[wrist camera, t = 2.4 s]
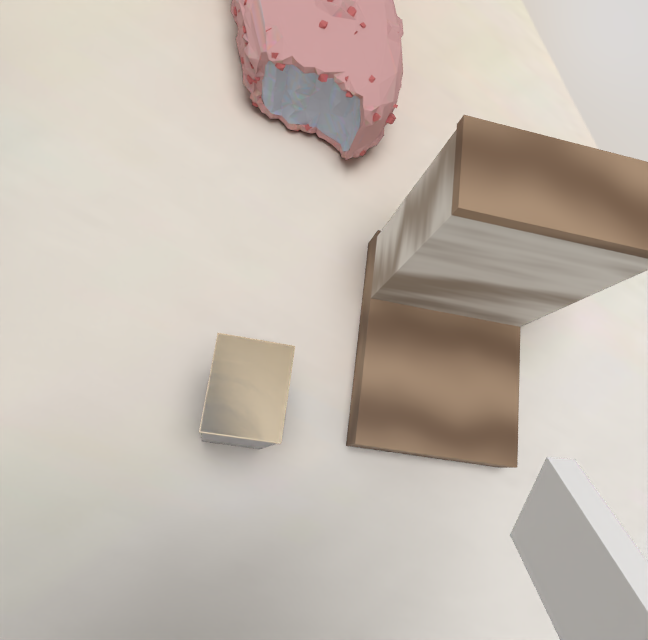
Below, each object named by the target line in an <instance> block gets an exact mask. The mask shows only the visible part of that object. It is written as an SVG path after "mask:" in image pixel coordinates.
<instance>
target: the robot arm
mask: <svg viewBox="0 0 648 640" xmlns="http://www.w3.org/2000/svg"><path fill="white" fill-rule="evenodd" d="M510 536H511V538H512V540H513V542H514V544H515V546H516V548H517V550H518V553H519V555H520V557H521V559H522V561H523V563H524V565H525V567H526V569H527V571H528V573H529V575H530V578H531V580H532V582H533V584H534V586H535V588H536V590H537V592H538V594H539V596H540V598H541V601H542V603H543V605H544V607H545V609H546V611H547V613H548V615H549V617H550V619H551V621H552V624H553V626H554V628H555V630H556V632H557V634H558V636H559V638H560V640H648V560H647V559H646V558H645V556H644V555H643V553H642V552H641V551H640V549H639V548H638V546H637V545H636V544H635V542H634V541H633V539H632V538H631V537H630V535H629V534H628V532H627V531H626V530H625V528H624V527H623V525H622V524H621V523H620V521H619V520H618V518H617V517H616V516H615V514H614V513H613V511H612V510H611V509H610V507H609V506H608V504H607V503H606V502H605V500H604V499H603V497H602V496H601V495H600V493H599V492H598V490H597V489H596V488H595V486H594V485H593V483H592V482H591V481H590V479H589V478H588V476H587V475H586V474H585V472H584V471H583V469H582V468H581V467H580V465H579V464H578V462H577V461H576V460H575V459H568V458H554V457H547V458H546V460H545V462H544V464H543V466H542V468H541V471H540V473H539V475H538V477H537V479H536V481H535V483H534V485H533V487H532V490H531V492H530V494H529V496H528V498H527V500H526V502H525V504H524V506H523V509H522V511H521V513H520V515H519V517H518V519H517V521H516V523H515V525H514V528H513V530H512V532H511V534H510Z"/></svg>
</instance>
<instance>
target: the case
mask: <svg viewBox="0 0 648 640" xmlns="http://www.w3.org/2000/svg"><path fill="white" fill-rule="evenodd" d="M294 351H295V346H292V345H286V344H280V343H274V342H269V341H263V340H257V339H251V338H245V337H239V336H234V335H228V334H222V333H218V334H217V339H216V344H215V350H214V355H213V360H212V366H211V371H210V376H209V382H208V387H207V392H206V397H205V403H204V408H203V413H202V419H201V424H200V429H199V433H201V438H202V441H205V442H212V443H220V444H227V445H234V446H241V447H249V448H256V449H262V448H265V447H268V446H271V445H274V444H281V440H282V433H283V426H284V420H285V413H286V406H287V399H288V392H289V385H290V378H291V371H292V364H293V358H294Z"/></svg>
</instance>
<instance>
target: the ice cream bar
mask: <svg viewBox="0 0 648 640" xmlns="http://www.w3.org/2000/svg"><path fill="white" fill-rule="evenodd" d="M231 12H232V15H233V17H234V20H235V22H236V24H237V26H238V34H237V37H236V42H237V47H238V51H239V55H240V60H241V64H242V69H243V84H244V85H245V86H246V88H247V89H248V90H249V91H250V92H251V93H250V99H251V100H252V101H253V102H252V105H253V106H255V107H259V108H260V110H261V112H262V113H264V114H266V115H267V116H268V117H269V118H270V119H276V118H279V119H280V120H281V121H282V122H283V123H284V124H285V126H286V127H287V128H288V129H290V130H296V131H299V130H302V131H304V132H307V133H316V134H317V135H318V137H319V138H322V139H324V140H326V141H327V142H329V143H330V144H332V145H333V146H334V147H335V148H336V149H337V150H339V151H340V153H341V157H343V158H345V160H347V159H349V158H352V157H356V158H358V157H359V156H360V155H361V156H363V155H364V154H365V153H366V151H367V150H368V148H371V147H373V146H376V145H377V144H378V143H379V141H380V140H381V139H382V137H383V136H384V127H385V125H386V124H387V123H389V124H393V122H394V121H395V119H396V117H395V116H394V114H392V112H393V110H394V108H395V107H396V108H397V106H398V105H396V103H397V99H398V94H399V90H400V88H401V80H402V75H403V63H402V48H401V37H402V35H403V24H402V20H401V19H400V18H399V17H398V16H397V14H396V10H395V6H394V1H393V0H232V6H231Z"/></svg>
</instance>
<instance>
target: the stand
mask: <svg viewBox="0 0 648 640" xmlns="http://www.w3.org/2000/svg"><path fill="white" fill-rule="evenodd" d="M647 270H648V162H646V161H642V160H638V159H634V158H630V157H626V156H622V155H618V154H615V153H611V152H607V151H603V150H599V149H595V148H591V147H587V146H584V145H580V144H576V143H572V142H568V141H564V140H560V139H556V138H552V137H548V136H545V135H541V134H537V133H533V132H529V131H525V130H521V129H517V128H513V127H509V126H506V125H502V124H498V123H494V122H490V121H486V120H482V119H478V118H474V117H470V116H466V115H464V116H463V117H462V118H461V120H460V121H459V122H458V124H457V130H456V131H455V132H454V134H453V135H452V136H451V138H450V139H449V140H448V142H447V143H446V144H445V146H444V147H443V148H442V150H441V151H440V152H439V154H438V155H437V156H436V158H435V159H434V161H433V162H432V163H431V165H430V166H429V167H428V169H427V170H426V171H425V173H424V174H423V175H422V177H421V178H420V179H419V181H418V182H417V183H416V185H415V186H414V187H413V189H412V190H411V192H410V193H409V194H408V196H407V197H406V198H405V200H404V201H403V202H402V204H401V205H400V206H399V208H398V209H397V210H396V212H395V213H394V214H393V216H392V217H391V219H390V220H389V221H388V223H387V224H386V225H385V227H384V228H383V229H382V231H379V230H378V231H377V232H376V234H375V235H374V236H373V238H372V239H371V241H370V242H369V244H368V253H367V262H366V271H365V280H364V289H363V298H362V307H361V316H360V325H359V334H358V344H357V353H356V362H355V371H354V380H353V389H352V398H351V407H350V416H349V425H348V434H347V443H346V446H353V447H360V448H367V449H374V450H381V451H388V452H395V453H402V454H409V455H416V456H423V457H430V458H437V459H444V460H451V461H458V462H465V463H472V464H479V465H486V466H493V467H517V453H518V408H519V363H520V327H521V326H523V325H525V324H528V323H530V322H532V321H534V320H537V319H539V318H541V317H543V316H546V315H548V314H550V313H552V312H555V311H557V310H559V309H561V308H564V307H566V306H568V305H570V304H573V303H575V302H577V301H579V300H582V299H584V298H586V297H588V296H590V295H593V294H595V293H597V292H599V291H602V290H604V289H606V288H608V287H611V286H613V285H615V284H617V283H620V282H622V281H624V280H626V279H629V278H631V277H633V276H635V275H638V274H640V273H642V272H644V271H647Z"/></svg>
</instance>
